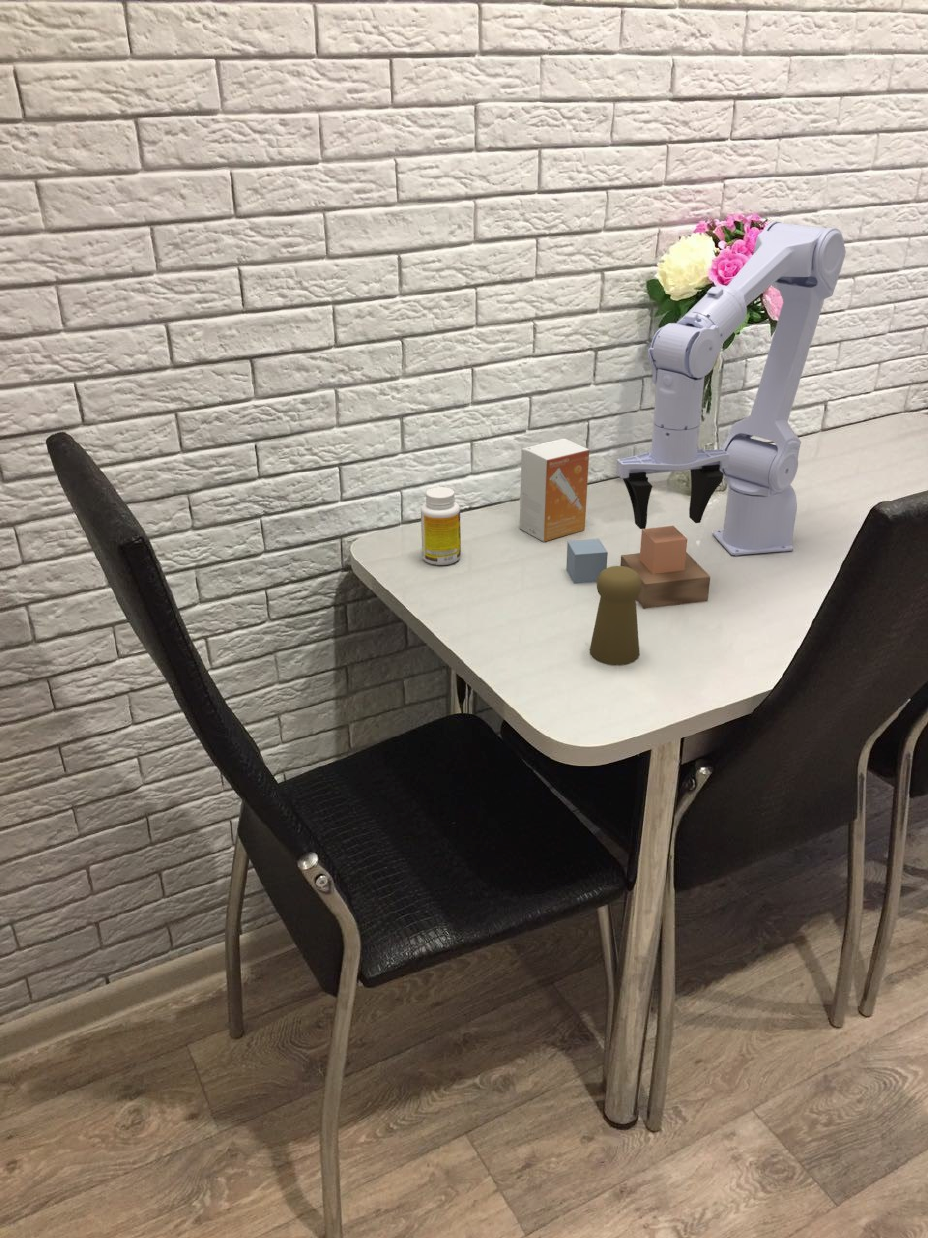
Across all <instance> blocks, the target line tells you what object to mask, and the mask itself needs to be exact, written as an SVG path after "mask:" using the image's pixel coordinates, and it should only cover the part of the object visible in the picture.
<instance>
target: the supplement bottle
mask: <svg viewBox="0 0 928 1238" xmlns="http://www.w3.org/2000/svg"><path fill="white" fill-rule="evenodd" d="M455 500H456V499H455V491H454V490H453V489H452V488H450V487H445V486H443V487H442V486H440V487H439V486H438V487H432V488H430V489H428V490H427V491H426V492H425V502H424V503H423V504H422V505H421V507H420V521H421V522H420V523H421V524H420V525H421V553H422V558H423V560H424V561H425V562H426V563H429V564H431V565H435V566H436V565H437V566H446V565H451V564H454V563H457V561H459V560H460V559H461V555H462V551H461V549H462V547H461V546H462V541H461V535H462V533H461V531H462V530H461V507H460V504H458V502H456V501H455Z"/></svg>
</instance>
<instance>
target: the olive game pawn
mask: <svg viewBox="0 0 928 1238" xmlns="http://www.w3.org/2000/svg"><path fill="white" fill-rule="evenodd" d="M641 587H642V583H641V578H640V576H639V574H638V573H637V572H636V571H635V570H633V569H631V568H628V567H624V566H620V565H614V566H613V565H612V566H609V567H607V568H606V569H604V570H602V572H601V573H600V574H599V576H598V579H597V582H596V589H597V593H598V595H599V596H600V598H599V603H598V607H597V613H596V618H595V621H594V628H593V632H592V637H591V641H590V646H589V655H590V656H591V657H592V658H593V659H594V660H595V661H596V662H599V663H601V664H604V665H609V666H625V665H630V664H632V663H634V662H635V661H637V660H638V659H639V657H640V641H639V639H640V638H639V628H638V615H637V614H638V611H637V600H636V598H637V597H638V595H639V594H640V591H641Z"/></svg>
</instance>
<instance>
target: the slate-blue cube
mask: <svg viewBox="0 0 928 1238" xmlns="http://www.w3.org/2000/svg"><path fill="white" fill-rule="evenodd" d="M566 544H567V545H566V569H565V571H566V572H567V573H568V576H569V578H570V579H571V581H572V582H573V585H575V584H576V585H577V584H578V585H579V584H590V583H597V579H598V576H599V574H600V573H601V572H602V570H604V569H606V568H608V557H609V556H608V553H609V552H608V550H607V548H606V547H605V545H604V544H603V543H602V541H601V539H600V538H590V539H589V538H588V539H578V540H577V539H575V540H567V543H566Z"/></svg>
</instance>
